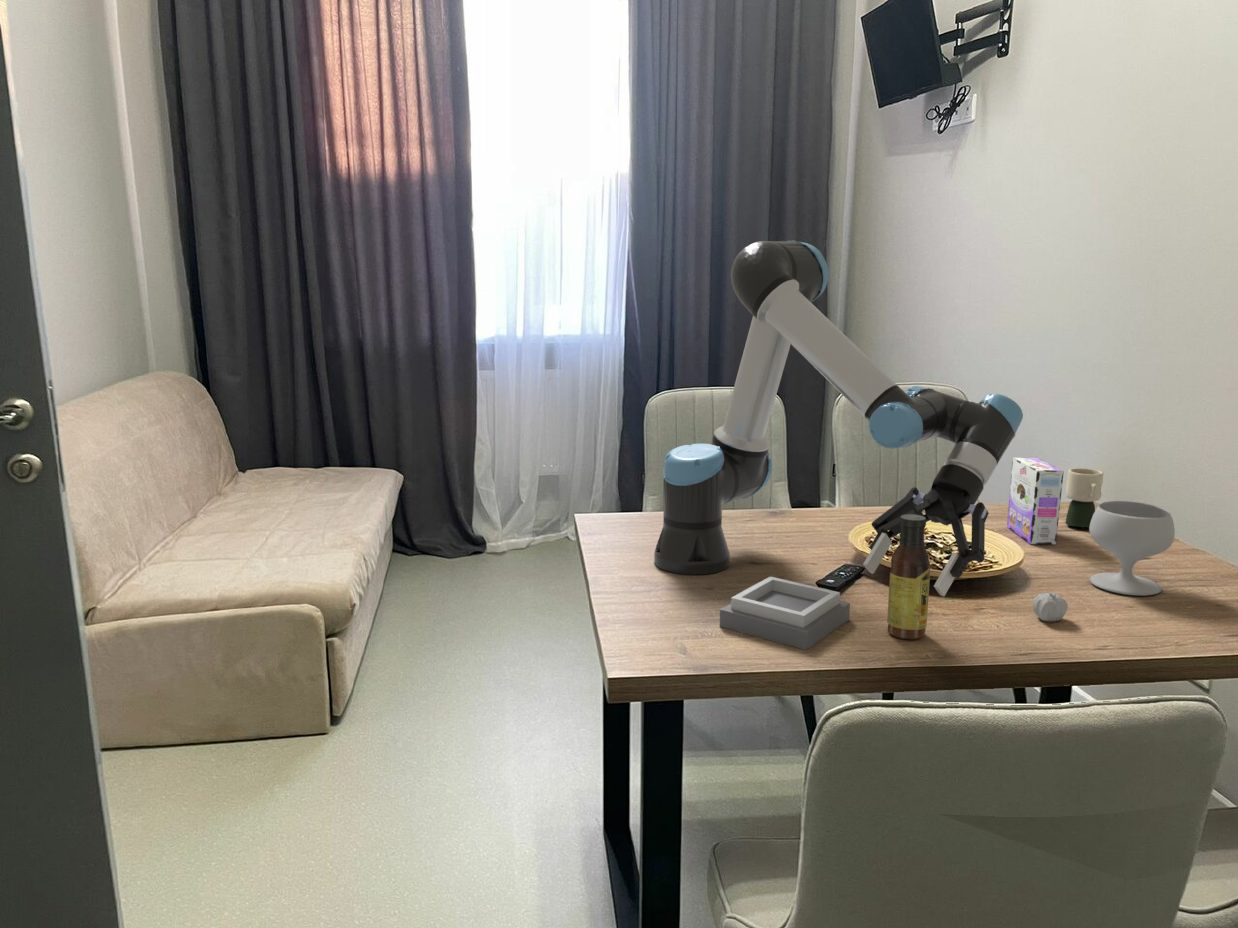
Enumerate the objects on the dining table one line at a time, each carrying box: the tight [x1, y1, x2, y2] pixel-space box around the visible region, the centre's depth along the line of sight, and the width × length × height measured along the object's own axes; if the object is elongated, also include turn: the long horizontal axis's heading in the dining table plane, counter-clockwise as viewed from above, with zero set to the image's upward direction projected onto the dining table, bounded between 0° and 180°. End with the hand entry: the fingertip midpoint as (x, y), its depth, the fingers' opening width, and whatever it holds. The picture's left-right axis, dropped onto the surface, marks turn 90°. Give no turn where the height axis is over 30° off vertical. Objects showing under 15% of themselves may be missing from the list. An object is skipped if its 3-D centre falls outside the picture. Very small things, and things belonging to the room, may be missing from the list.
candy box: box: [1006, 457, 1065, 546], centre depth 211 cm, size 14×6×16 cm, turn 179°
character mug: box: [1064, 467, 1104, 529], centre depth 218 cm, size 11×7×13 cm, turn 178°
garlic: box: [1032, 591, 1069, 622], centre depth 165 cm, size 6×5×5 cm
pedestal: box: [719, 576, 851, 651], centre depth 163 cm, size 16×16×5 cm
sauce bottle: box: [886, 514, 931, 641], centre depth 157 cm, size 7×6×20 cm
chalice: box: [1088, 500, 1176, 597], centre depth 179 cm, size 14×14×15 cm
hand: (902, 579), depth 156 cm, fingers open, 13 cm apart
